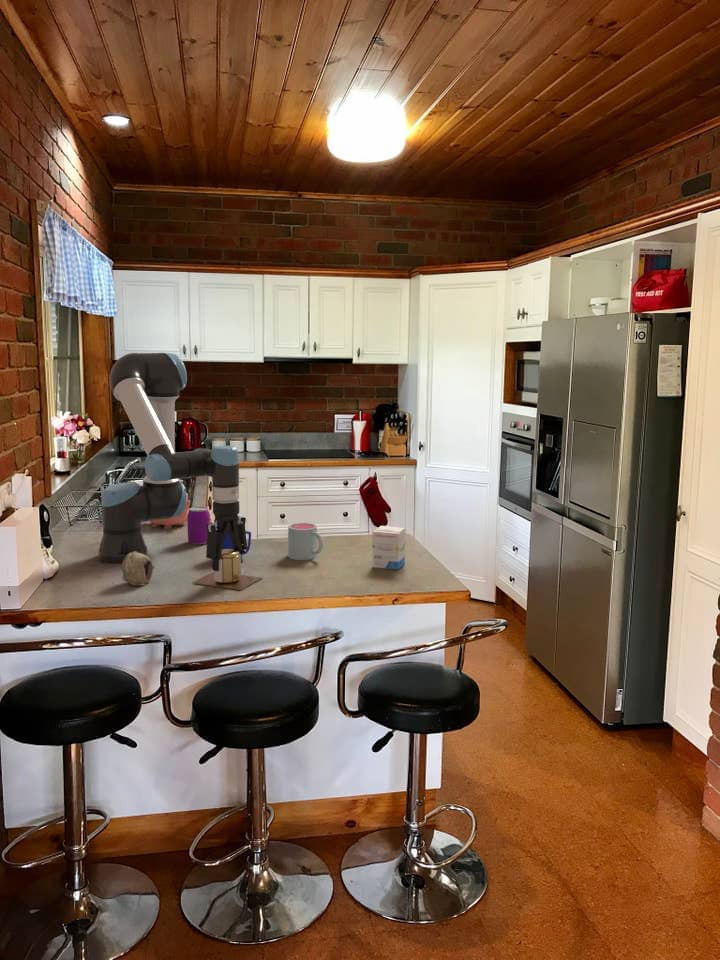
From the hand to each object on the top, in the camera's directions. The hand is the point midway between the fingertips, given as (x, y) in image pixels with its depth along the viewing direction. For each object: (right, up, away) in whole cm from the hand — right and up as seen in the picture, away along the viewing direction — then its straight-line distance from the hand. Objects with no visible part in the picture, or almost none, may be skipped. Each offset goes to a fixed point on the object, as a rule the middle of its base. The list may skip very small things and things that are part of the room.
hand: (227, 577), depth 223 cm
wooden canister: (0, 0, 0) cm, 0 cm away
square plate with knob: (0, -1, 0) cm, 1 cm away
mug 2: (+21, +3, +26) cm, 34 cm away
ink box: (+47, +1, +18) cm, 51 cm away
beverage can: (-17, +7, +42) cm, 46 cm away
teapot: (-34, +11, +65) cm, 74 cm away
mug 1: (-2, +3, +24) cm, 24 cm away
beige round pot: (-25, -1, -2) cm, 25 cm away
